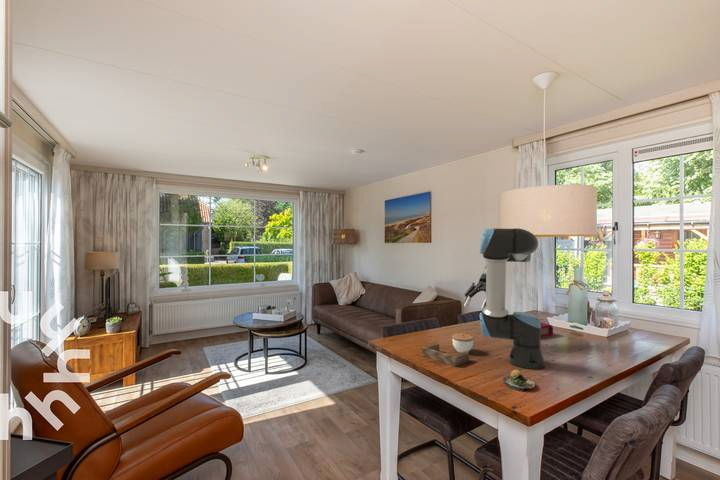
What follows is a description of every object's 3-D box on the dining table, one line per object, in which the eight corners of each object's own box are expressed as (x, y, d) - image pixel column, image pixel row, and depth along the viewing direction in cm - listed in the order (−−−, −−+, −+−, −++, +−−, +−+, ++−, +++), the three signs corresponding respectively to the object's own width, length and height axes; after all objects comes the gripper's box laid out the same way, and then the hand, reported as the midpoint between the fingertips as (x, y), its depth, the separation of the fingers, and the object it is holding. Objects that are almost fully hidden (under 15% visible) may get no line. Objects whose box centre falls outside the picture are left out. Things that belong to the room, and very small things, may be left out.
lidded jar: (475, 355, 166) (475, 336, 166) (453, 354, 168) (453, 335, 168) (471, 348, 177) (471, 331, 177) (450, 347, 178) (451, 330, 178)
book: (515, 325, 228) (515, 314, 228) (553, 336, 202) (553, 323, 202) (492, 328, 219) (492, 317, 219) (529, 340, 194) (529, 327, 194)
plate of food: (526, 395, 124) (526, 375, 124) (497, 384, 133) (497, 365, 133) (541, 387, 131) (541, 368, 131) (512, 377, 140) (513, 359, 140)
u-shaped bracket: (468, 360, 158) (469, 352, 159) (455, 366, 151) (455, 358, 151) (436, 350, 173) (436, 343, 173) (421, 355, 165) (421, 347, 165)
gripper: (509, 283, 183) (495, 316, 173) (472, 280, 200) (458, 309, 189) (504, 274, 180) (490, 307, 169) (468, 271, 197) (453, 301, 186)
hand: (473, 308), depth 179 cm, fingers open, 9 cm apart
